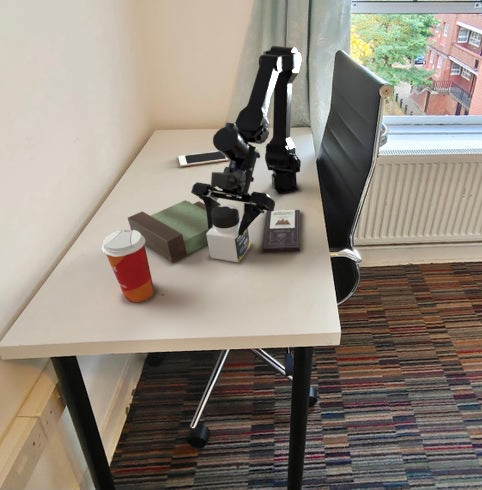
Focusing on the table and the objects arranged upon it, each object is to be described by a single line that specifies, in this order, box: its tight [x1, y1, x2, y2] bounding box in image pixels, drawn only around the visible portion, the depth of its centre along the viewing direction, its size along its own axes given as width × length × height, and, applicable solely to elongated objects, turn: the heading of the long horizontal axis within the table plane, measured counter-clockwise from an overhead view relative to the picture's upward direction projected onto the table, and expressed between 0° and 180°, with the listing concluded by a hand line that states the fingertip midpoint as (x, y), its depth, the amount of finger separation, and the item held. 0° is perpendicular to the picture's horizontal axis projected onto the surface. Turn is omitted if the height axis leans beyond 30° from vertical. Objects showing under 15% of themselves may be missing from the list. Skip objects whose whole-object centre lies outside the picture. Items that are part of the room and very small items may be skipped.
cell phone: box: [178, 150, 230, 168], centre depth 148 cm, size 8×16×1 cm, turn 113°
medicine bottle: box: [206, 204, 251, 263], centre depth 102 cm, size 7×7×12 cm
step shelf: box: [127, 199, 209, 264], centre depth 110 cm, size 20×16×6 cm
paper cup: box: [101, 229, 155, 303], centre depth 89 cm, size 8×8×14 cm
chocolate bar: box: [261, 209, 301, 253], centre depth 114 cm, size 9×1×18 cm
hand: (224, 232), depth 101 cm, fingers closed on medicine bottle, 7 cm apart
